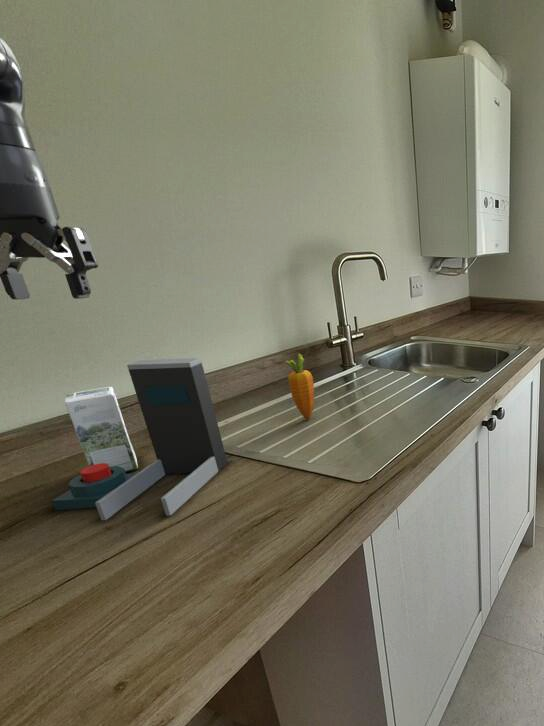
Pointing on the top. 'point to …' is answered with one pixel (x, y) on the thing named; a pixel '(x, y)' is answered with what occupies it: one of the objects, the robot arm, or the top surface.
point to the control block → (90, 490)
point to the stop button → (95, 472)
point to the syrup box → (101, 428)
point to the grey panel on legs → (172, 432)
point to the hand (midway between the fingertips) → (51, 298)
